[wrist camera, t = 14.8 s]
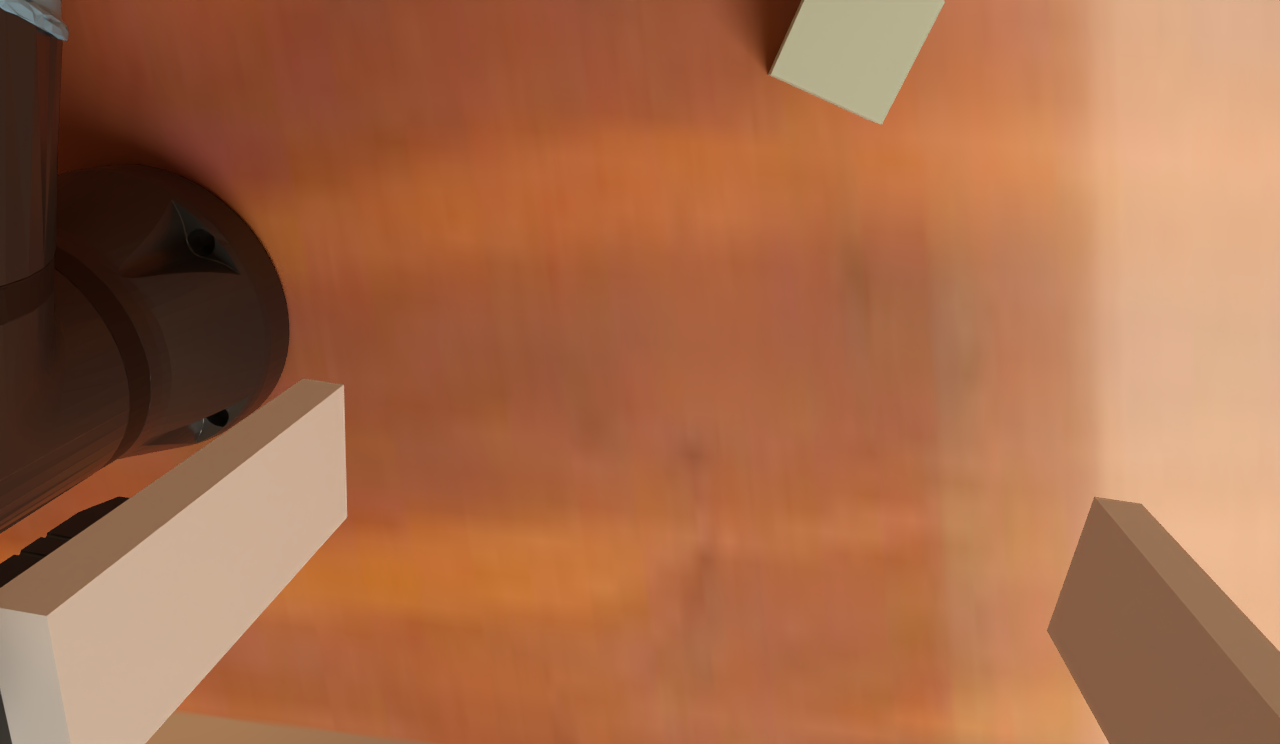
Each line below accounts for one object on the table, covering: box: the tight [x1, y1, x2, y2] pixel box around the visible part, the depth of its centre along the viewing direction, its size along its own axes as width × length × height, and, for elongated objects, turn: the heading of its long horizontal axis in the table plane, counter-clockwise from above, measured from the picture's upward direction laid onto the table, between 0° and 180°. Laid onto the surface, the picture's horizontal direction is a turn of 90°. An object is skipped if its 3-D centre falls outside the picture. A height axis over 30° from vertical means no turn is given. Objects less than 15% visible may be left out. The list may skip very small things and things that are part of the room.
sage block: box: [768, 0, 945, 125], centre depth 34 cm, size 5×5×4 cm
